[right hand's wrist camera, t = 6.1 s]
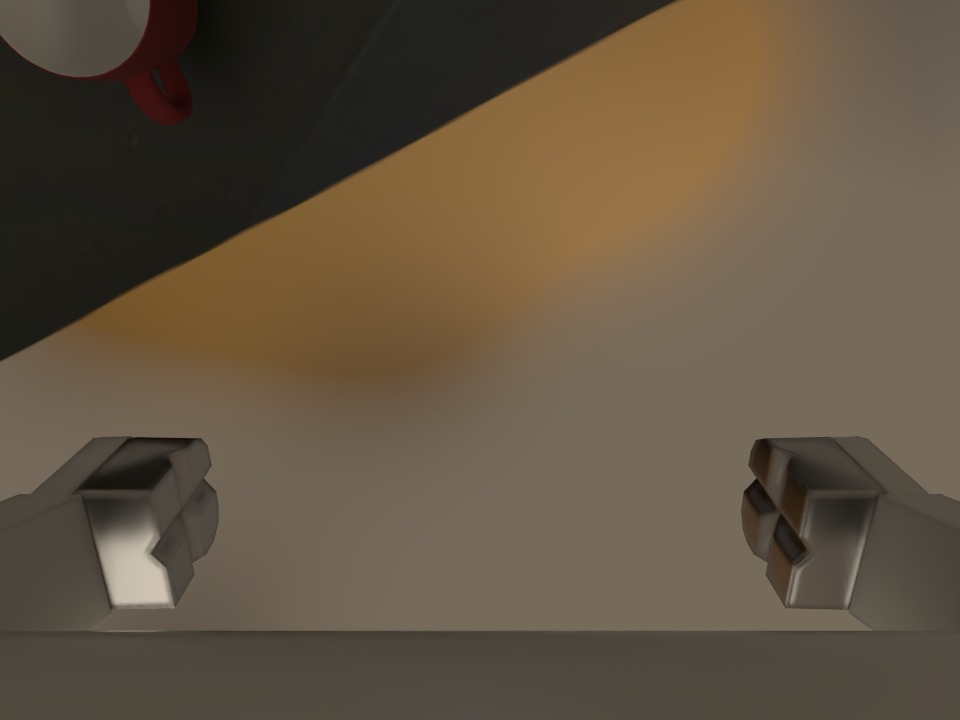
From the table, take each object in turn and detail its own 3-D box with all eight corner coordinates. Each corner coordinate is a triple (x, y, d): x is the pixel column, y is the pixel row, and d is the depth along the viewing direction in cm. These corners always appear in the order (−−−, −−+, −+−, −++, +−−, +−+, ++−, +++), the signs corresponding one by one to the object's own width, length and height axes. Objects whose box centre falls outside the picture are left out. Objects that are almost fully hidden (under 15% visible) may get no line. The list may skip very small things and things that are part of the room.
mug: (278, 83, 41) (219, 81, 32) (169, 143, 42) (81, 159, 33) (176, -103, 37) (75, -166, 28) (60, -30, 39) (-73, -67, 29)
